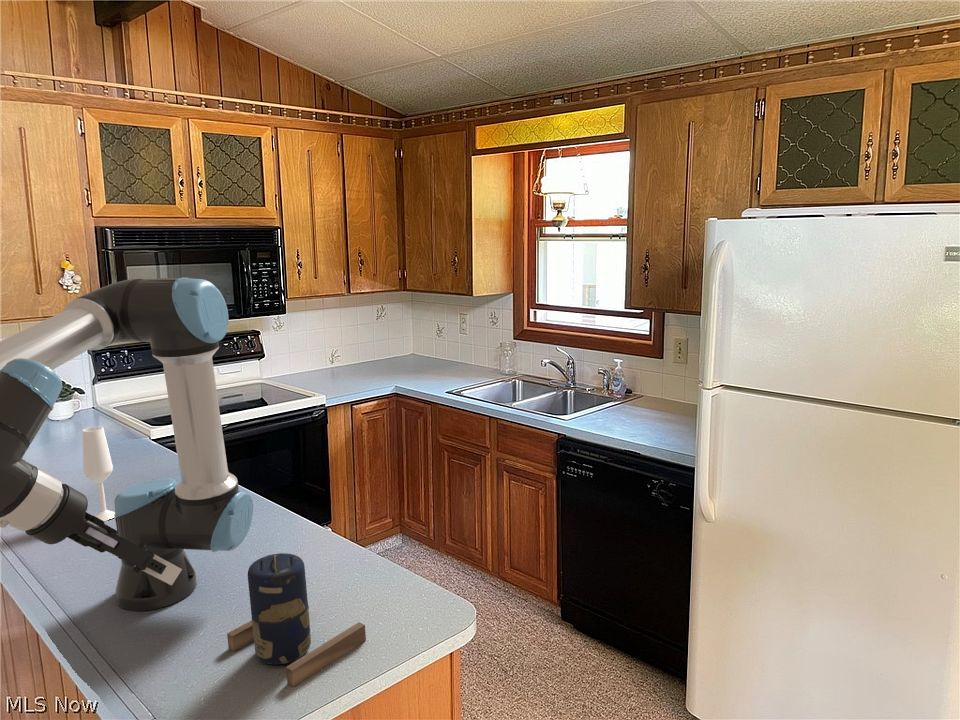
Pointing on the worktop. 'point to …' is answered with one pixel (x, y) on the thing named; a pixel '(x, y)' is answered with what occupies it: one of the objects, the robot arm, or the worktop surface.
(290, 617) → the canister
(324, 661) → the walnut chute
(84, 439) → the champagne flute
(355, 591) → the worktop surface
